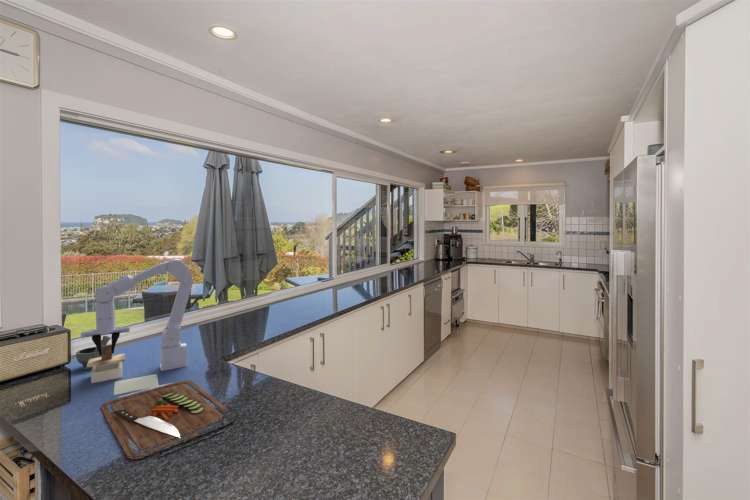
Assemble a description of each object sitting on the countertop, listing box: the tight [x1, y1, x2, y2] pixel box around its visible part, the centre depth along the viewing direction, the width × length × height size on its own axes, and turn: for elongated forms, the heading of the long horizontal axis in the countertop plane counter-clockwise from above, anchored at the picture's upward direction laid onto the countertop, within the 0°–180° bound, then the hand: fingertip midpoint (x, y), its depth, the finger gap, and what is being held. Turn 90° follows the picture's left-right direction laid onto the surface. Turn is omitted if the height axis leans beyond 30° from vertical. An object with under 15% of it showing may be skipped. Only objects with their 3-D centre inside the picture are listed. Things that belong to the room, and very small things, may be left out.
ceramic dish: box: [90, 362, 123, 384], centre depth 134 cm, size 9×9×4 cm
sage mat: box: [113, 373, 160, 396], centre depth 128 cm, size 13×13×1 cm
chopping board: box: [100, 380, 229, 458], centre depth 108 cm, size 45×27×3 cm, turn 46°
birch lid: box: [87, 343, 126, 367], centre depth 134 cm, size 11×11×6 cm
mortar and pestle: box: [75, 335, 112, 371], centre depth 145 cm, size 11×9×12 cm
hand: (106, 353), depth 134 cm, fingers closed on birch lid, 3 cm apart
